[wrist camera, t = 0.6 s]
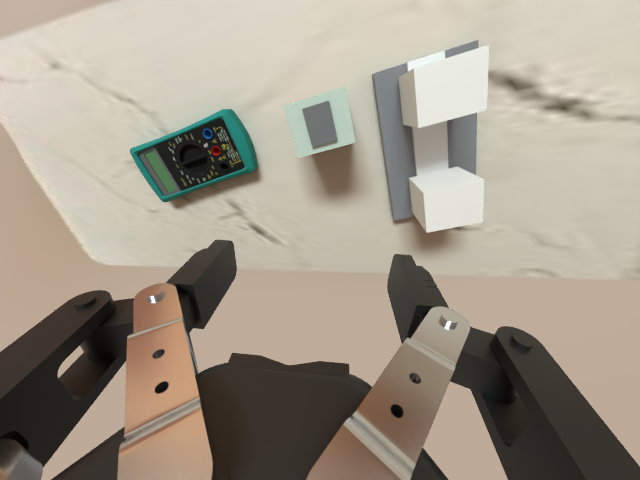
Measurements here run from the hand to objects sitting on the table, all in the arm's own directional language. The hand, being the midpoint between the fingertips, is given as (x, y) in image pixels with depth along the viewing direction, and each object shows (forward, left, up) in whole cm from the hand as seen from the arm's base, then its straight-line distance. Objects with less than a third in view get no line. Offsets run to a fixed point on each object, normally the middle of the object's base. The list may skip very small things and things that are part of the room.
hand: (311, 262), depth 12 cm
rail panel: (-12, 0, -22) cm, 25 cm away
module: (-1, -6, -22) cm, 22 cm away
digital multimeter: (+16, -6, -22) cm, 28 cm away
